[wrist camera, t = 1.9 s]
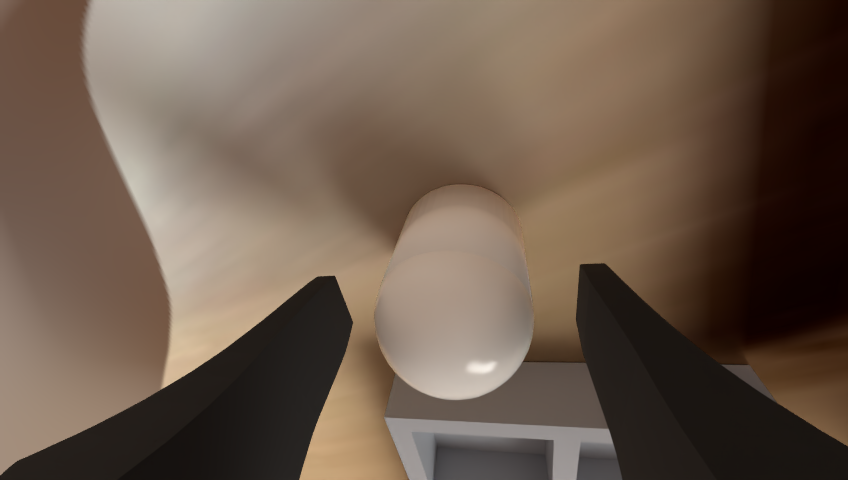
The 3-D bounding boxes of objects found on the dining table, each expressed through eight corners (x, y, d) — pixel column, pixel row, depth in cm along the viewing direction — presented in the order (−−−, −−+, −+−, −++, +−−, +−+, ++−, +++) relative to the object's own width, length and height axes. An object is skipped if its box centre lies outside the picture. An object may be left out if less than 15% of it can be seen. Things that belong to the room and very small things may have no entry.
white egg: (520, 177, 12) (545, 311, 7) (523, 281, 14) (544, 440, 9) (393, 190, 13) (327, 315, 7) (415, 284, 15) (377, 430, 10)
